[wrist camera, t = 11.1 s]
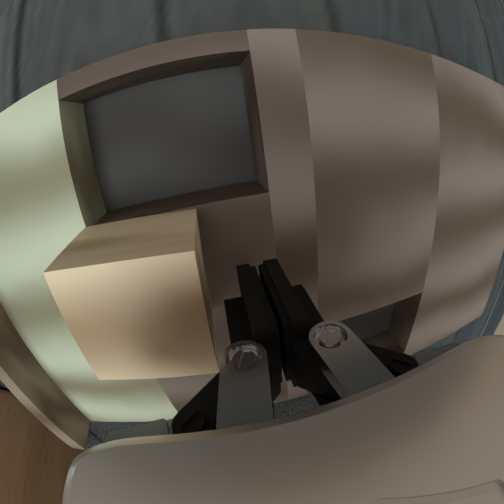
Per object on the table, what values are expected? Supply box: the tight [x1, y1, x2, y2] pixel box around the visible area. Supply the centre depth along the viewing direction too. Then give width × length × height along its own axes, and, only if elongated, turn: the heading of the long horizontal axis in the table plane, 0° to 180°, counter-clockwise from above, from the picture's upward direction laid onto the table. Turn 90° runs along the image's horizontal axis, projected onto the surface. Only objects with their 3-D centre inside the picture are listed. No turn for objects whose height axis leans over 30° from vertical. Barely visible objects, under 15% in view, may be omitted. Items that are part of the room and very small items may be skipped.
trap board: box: [0, 29, 504, 450], centre depth 13 cm, size 22×40×6 cm, turn 98°
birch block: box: [43, 209, 219, 380], centre depth 10 cm, size 5×5×4 cm
